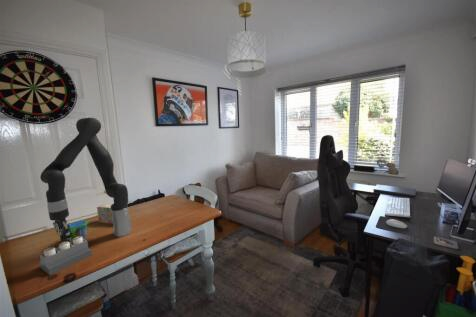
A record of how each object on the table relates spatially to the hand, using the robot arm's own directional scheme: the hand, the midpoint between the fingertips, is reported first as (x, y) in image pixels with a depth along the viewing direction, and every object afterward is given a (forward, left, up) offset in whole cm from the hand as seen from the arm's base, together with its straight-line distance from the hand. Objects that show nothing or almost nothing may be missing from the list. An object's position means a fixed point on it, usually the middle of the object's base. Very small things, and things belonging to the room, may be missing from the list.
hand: (63, 240), depth 108 cm
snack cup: (-14, -20, -11) cm, 27 cm away
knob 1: (+6, 0, -8) cm, 10 cm away
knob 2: (-6, 0, -8) cm, 10 cm away
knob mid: (0, 0, -8) cm, 8 cm away
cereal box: (-39, -26, -12) cm, 48 cm away
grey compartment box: (0, 0, -11) cm, 11 cm away
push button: (-6, -12, -11) cm, 18 cm away
